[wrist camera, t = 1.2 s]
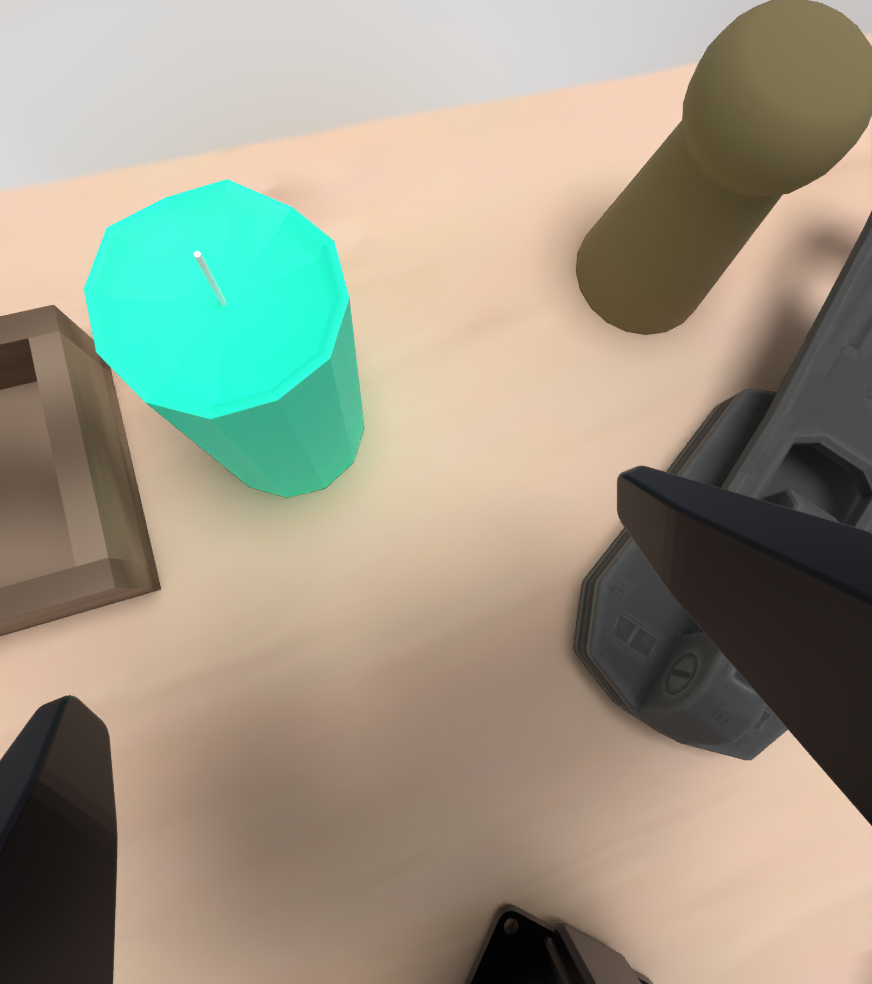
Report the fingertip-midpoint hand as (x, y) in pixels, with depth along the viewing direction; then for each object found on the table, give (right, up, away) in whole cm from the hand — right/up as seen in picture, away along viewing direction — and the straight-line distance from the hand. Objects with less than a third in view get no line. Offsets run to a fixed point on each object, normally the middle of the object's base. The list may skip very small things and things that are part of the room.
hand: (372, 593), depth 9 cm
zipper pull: (+16, +3, +16) cm, 23 cm away
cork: (+10, +12, +17) cm, 23 cm away
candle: (-5, +4, +15) cm, 16 cm away
